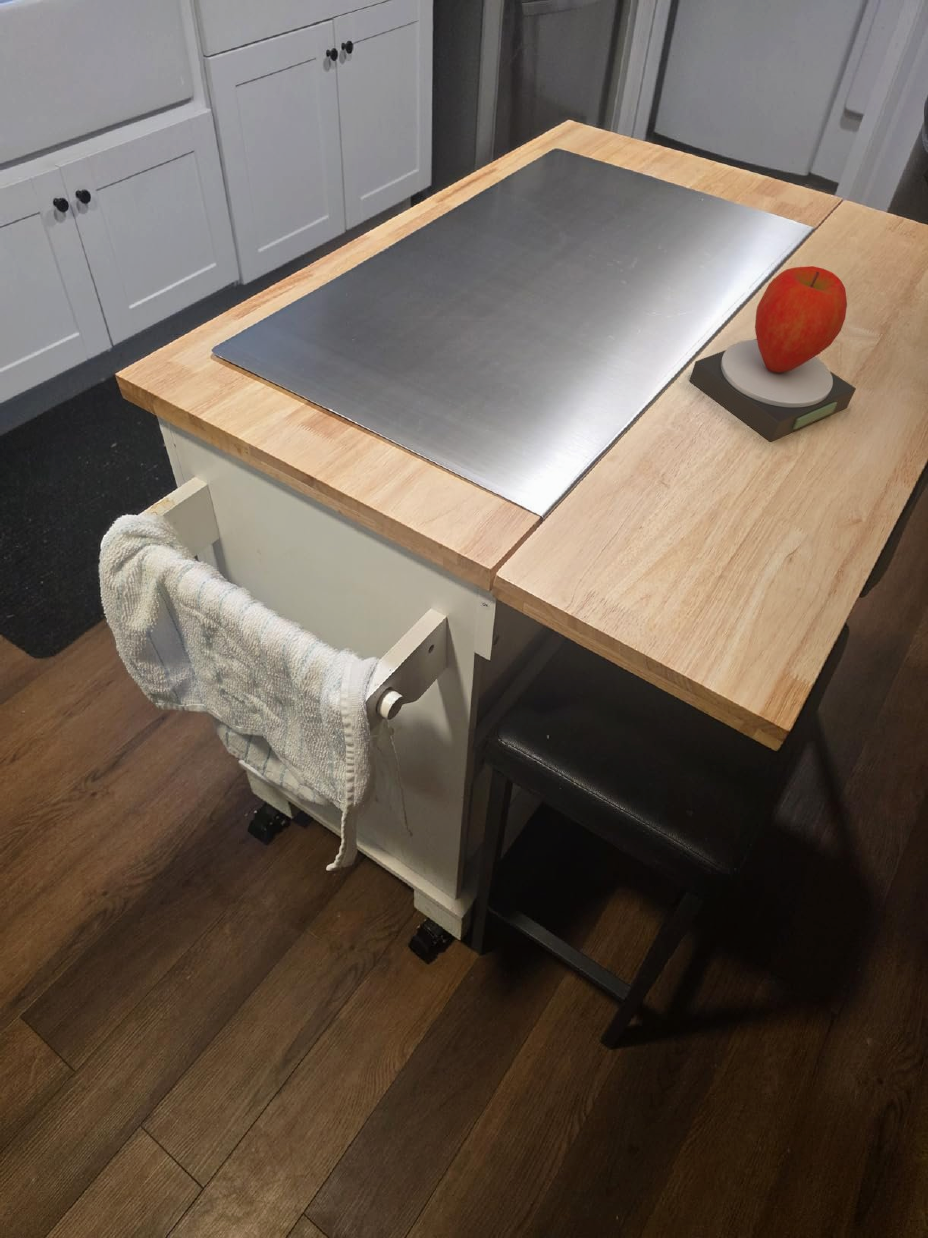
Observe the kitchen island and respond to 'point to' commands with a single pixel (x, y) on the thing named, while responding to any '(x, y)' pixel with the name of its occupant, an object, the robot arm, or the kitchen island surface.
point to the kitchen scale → (770, 390)
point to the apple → (799, 316)
